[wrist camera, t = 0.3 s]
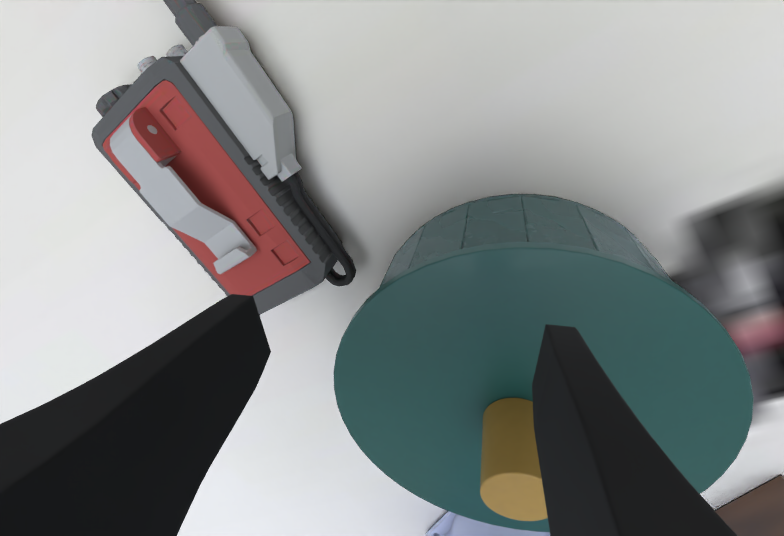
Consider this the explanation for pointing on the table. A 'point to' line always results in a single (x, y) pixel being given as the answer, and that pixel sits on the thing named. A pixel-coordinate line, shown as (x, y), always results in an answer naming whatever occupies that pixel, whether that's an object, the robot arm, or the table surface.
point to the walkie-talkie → (221, 164)
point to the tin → (520, 230)
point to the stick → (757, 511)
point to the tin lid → (529, 371)
